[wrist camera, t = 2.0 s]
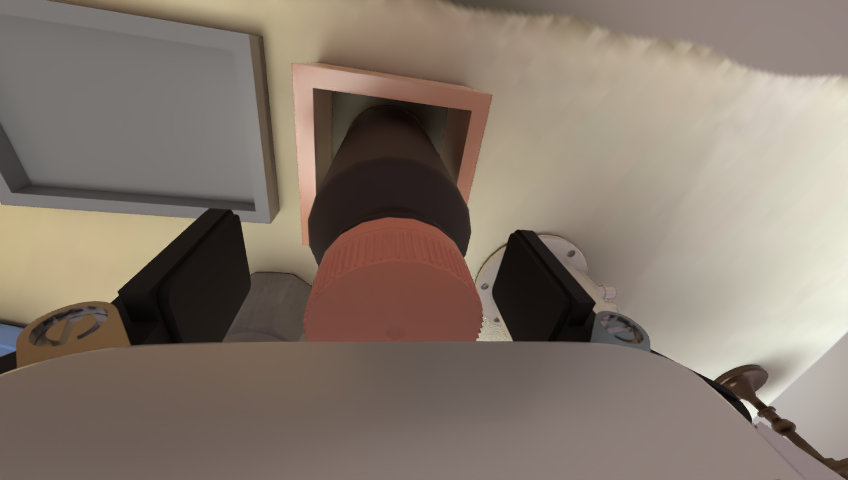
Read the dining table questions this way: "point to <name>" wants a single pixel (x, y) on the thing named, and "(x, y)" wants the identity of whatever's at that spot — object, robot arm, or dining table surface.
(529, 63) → the dining table surface
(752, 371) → the candlestick
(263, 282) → the coffeepot
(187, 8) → the dining table surface
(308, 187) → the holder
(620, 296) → the dining table surface
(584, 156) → the dining table surface
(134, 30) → the tray
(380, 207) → the vinegar
